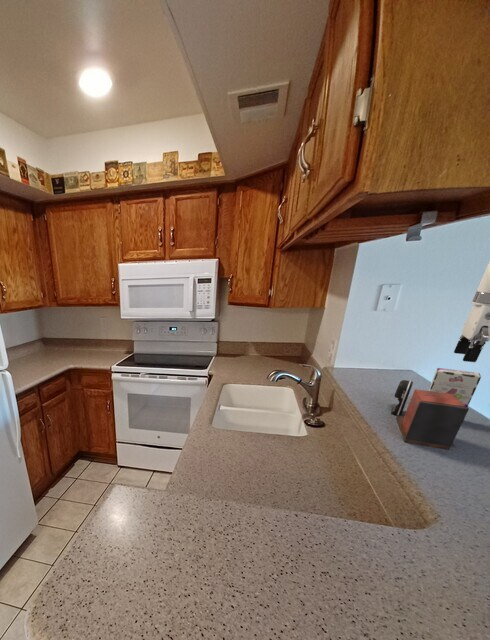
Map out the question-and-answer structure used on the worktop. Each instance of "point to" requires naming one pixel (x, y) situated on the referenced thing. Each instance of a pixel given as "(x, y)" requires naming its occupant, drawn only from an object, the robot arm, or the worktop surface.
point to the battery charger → (402, 396)
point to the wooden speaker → (432, 419)
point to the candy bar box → (456, 383)
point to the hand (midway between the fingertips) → (464, 357)
